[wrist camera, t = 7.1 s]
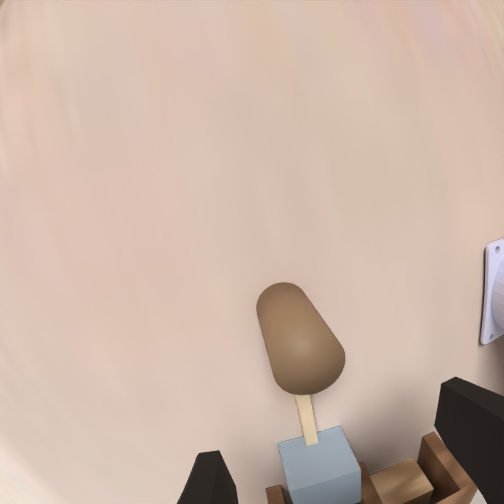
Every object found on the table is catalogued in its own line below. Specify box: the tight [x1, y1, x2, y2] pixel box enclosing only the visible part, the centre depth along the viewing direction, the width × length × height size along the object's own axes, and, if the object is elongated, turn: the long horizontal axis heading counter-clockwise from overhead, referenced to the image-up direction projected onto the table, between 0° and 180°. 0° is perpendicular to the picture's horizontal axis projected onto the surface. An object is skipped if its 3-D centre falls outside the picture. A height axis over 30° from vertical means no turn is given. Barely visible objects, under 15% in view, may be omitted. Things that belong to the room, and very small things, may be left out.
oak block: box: [369, 457, 434, 504], centre depth 20 cm, size 4×4×4 cm
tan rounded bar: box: [257, 282, 361, 504], centre depth 16 cm, size 4×16×6 cm, turn 13°
